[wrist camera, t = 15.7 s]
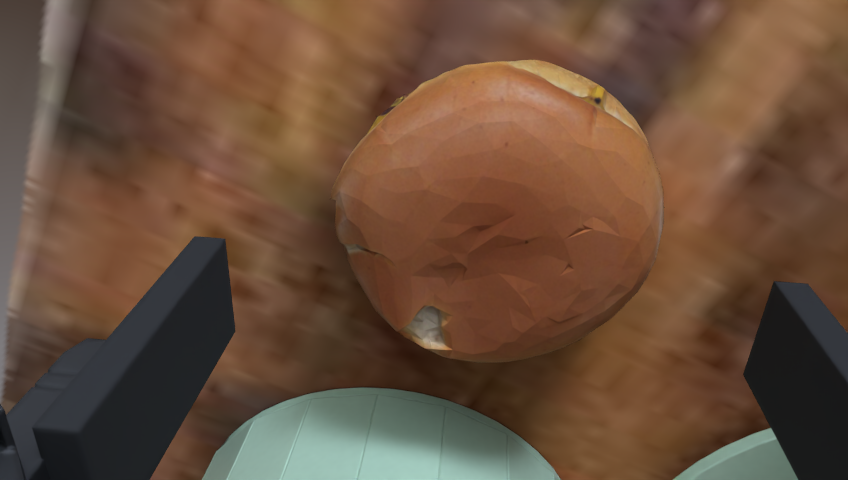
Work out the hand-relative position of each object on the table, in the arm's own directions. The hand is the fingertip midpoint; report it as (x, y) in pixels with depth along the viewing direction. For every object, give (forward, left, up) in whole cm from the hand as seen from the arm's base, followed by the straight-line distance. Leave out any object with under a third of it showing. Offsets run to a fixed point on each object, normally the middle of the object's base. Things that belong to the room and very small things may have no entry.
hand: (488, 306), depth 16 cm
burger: (0, 0, -7) cm, 7 cm away
